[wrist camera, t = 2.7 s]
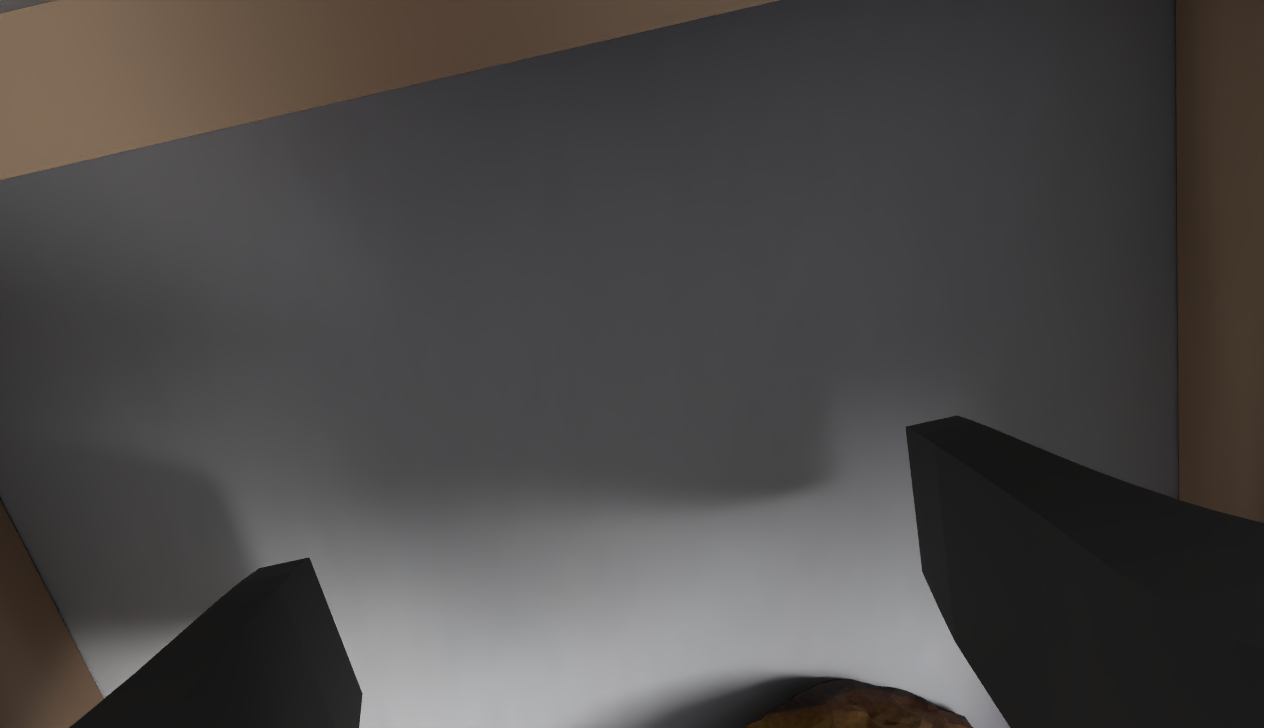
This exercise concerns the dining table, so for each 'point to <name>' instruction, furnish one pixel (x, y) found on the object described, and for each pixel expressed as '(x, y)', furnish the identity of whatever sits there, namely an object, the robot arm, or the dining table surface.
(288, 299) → the dining table surface
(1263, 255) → the open wooden frame
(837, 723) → the fruit
